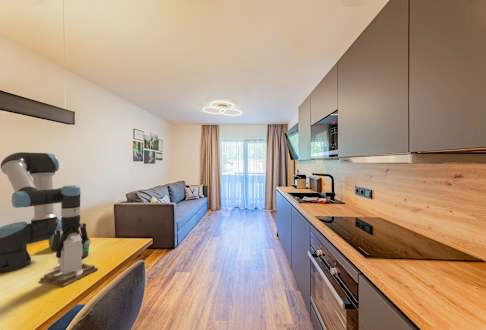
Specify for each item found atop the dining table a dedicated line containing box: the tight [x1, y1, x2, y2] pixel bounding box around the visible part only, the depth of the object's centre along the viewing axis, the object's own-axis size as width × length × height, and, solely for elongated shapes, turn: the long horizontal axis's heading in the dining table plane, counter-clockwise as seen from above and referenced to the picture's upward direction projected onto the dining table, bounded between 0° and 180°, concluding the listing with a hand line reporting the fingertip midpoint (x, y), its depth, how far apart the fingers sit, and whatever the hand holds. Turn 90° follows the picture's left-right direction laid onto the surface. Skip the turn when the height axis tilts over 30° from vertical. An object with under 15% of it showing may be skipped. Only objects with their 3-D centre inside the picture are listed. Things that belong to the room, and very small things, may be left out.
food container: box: [82, 237, 92, 260], centre depth 125 cm, size 12×6×10 cm, turn 168°
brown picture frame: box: [40, 262, 99, 288], centre depth 105 cm, size 17×16×2 cm
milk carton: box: [59, 232, 83, 274], centre depth 105 cm, size 7×7×19 cm
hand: (70, 259), depth 105 cm, fingers closed on milk carton, 8 cm apart
